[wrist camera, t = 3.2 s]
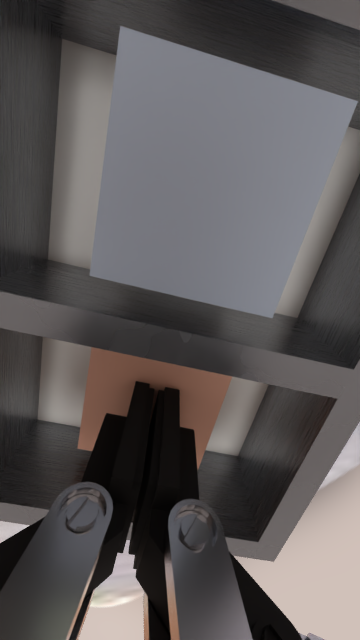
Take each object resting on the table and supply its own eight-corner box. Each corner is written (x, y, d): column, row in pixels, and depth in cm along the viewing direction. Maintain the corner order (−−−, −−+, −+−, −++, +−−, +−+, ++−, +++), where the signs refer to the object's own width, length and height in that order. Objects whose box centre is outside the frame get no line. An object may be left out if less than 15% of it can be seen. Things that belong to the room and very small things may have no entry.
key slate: (137, 80, 8) (120, 26, 5) (308, 131, 8) (358, 101, 6) (110, 260, 9) (89, 275, 7) (251, 293, 10) (272, 318, 8)
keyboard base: (83, -390, 7) (45, -628, 5) (515, -197, 8) (624, -328, 6) (35, 404, 15) (15, 431, 13) (241, 443, 16) (250, 473, 14)
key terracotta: (109, 313, 11) (92, 338, 9) (224, 339, 12) (235, 369, 10) (94, 408, 13) (77, 448, 11) (195, 427, 14) (198, 469, 11)
